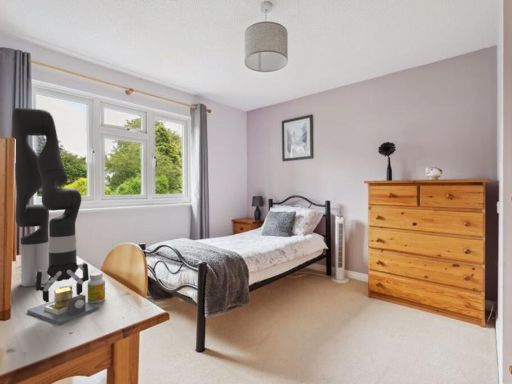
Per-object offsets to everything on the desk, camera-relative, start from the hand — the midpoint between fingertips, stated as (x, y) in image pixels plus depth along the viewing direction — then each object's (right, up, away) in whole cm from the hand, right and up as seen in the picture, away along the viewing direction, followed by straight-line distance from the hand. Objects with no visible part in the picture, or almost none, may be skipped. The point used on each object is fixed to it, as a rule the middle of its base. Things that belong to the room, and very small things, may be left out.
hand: (63, 298), depth 90 cm
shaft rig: (0, -4, 0) cm, 4 cm away
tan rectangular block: (0, -3, 0) cm, 3 cm away
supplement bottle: (+6, -4, +8) cm, 11 cm away
